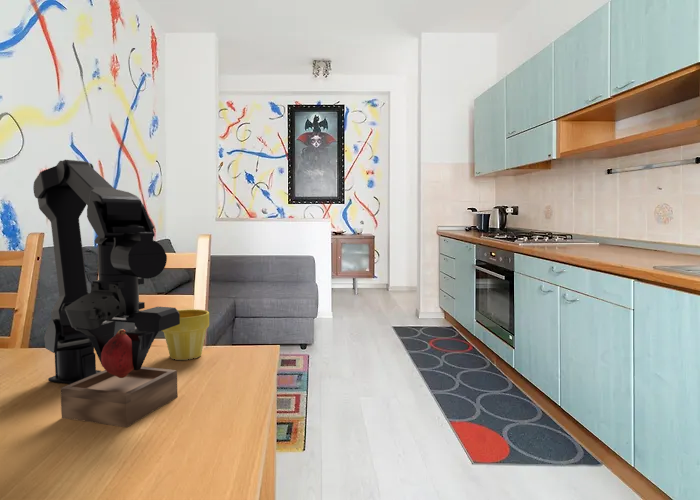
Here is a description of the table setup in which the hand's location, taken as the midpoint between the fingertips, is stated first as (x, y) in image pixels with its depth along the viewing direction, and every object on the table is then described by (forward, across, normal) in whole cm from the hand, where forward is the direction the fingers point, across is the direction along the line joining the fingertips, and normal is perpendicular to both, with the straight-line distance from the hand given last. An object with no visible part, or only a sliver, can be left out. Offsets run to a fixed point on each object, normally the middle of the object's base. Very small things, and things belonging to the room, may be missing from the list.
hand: (121, 368), depth 74 cm
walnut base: (+6, 0, 0) cm, 6 cm away
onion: (+2, 0, 0) cm, 2 cm away
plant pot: (+7, -7, +27) cm, 29 cm away
